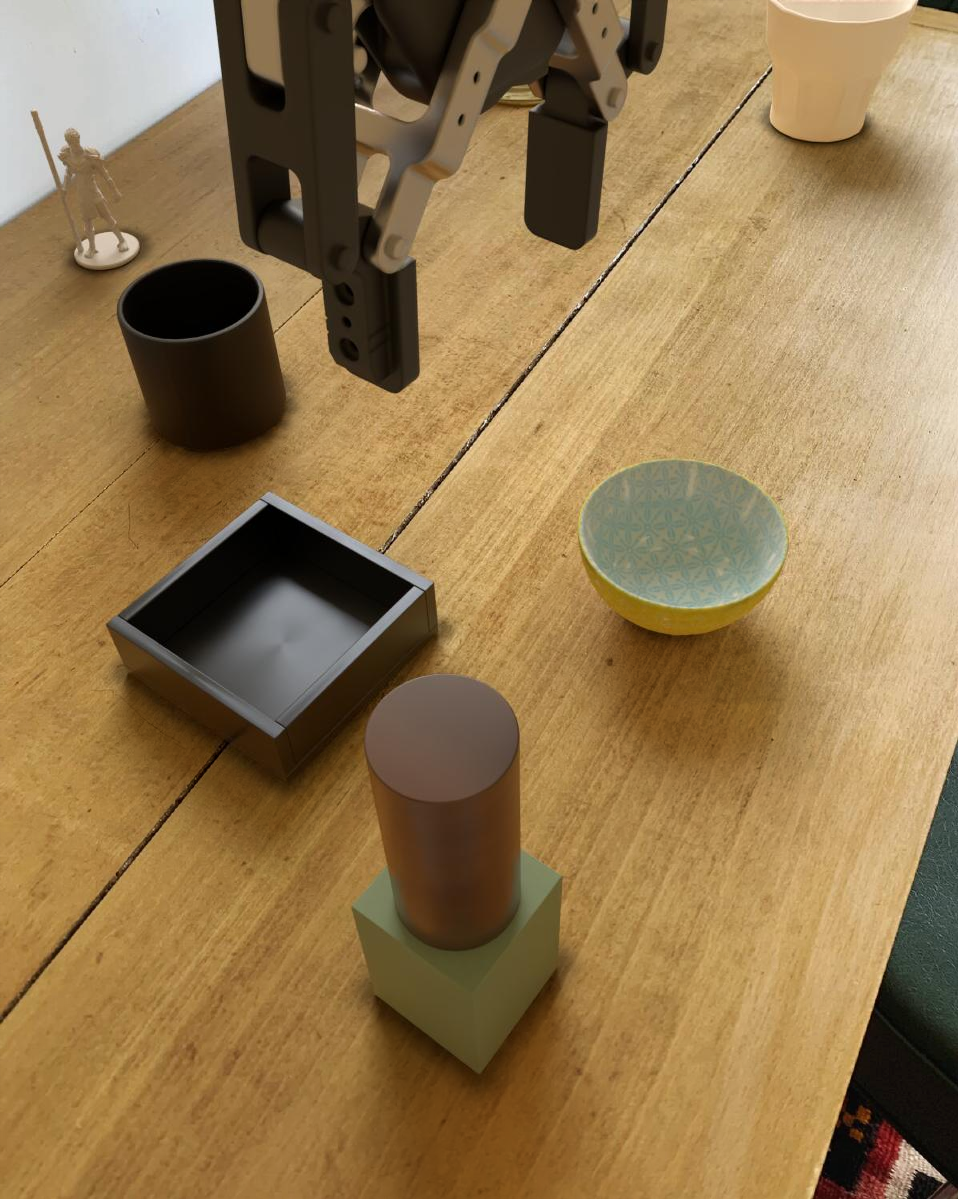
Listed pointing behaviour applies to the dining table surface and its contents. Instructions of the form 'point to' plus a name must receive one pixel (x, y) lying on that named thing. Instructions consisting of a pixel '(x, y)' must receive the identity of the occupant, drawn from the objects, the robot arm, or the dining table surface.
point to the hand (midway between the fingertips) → (475, 302)
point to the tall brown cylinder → (448, 807)
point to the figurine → (89, 203)
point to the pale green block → (464, 966)
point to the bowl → (681, 544)
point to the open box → (277, 632)
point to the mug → (203, 352)
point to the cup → (830, 62)
